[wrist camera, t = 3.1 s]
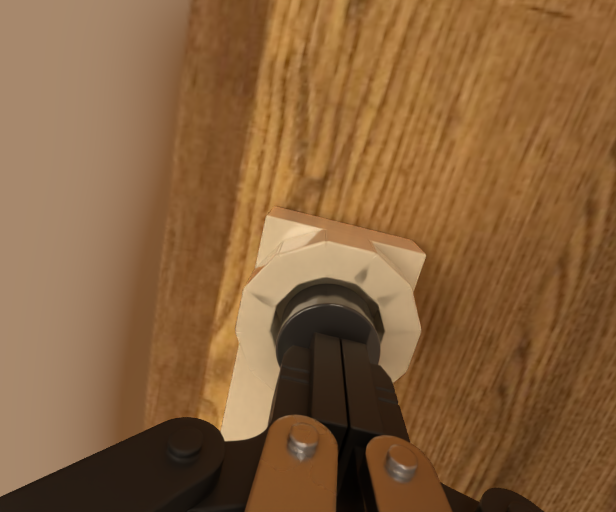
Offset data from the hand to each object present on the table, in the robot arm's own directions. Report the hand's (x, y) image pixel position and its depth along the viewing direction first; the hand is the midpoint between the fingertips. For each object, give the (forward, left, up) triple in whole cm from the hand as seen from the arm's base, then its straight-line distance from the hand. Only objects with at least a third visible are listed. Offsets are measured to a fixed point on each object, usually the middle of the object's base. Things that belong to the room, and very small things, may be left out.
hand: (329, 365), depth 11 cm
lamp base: (+3, -1, -6) cm, 7 cm away
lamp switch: (0, 0, -2) cm, 2 cm away
